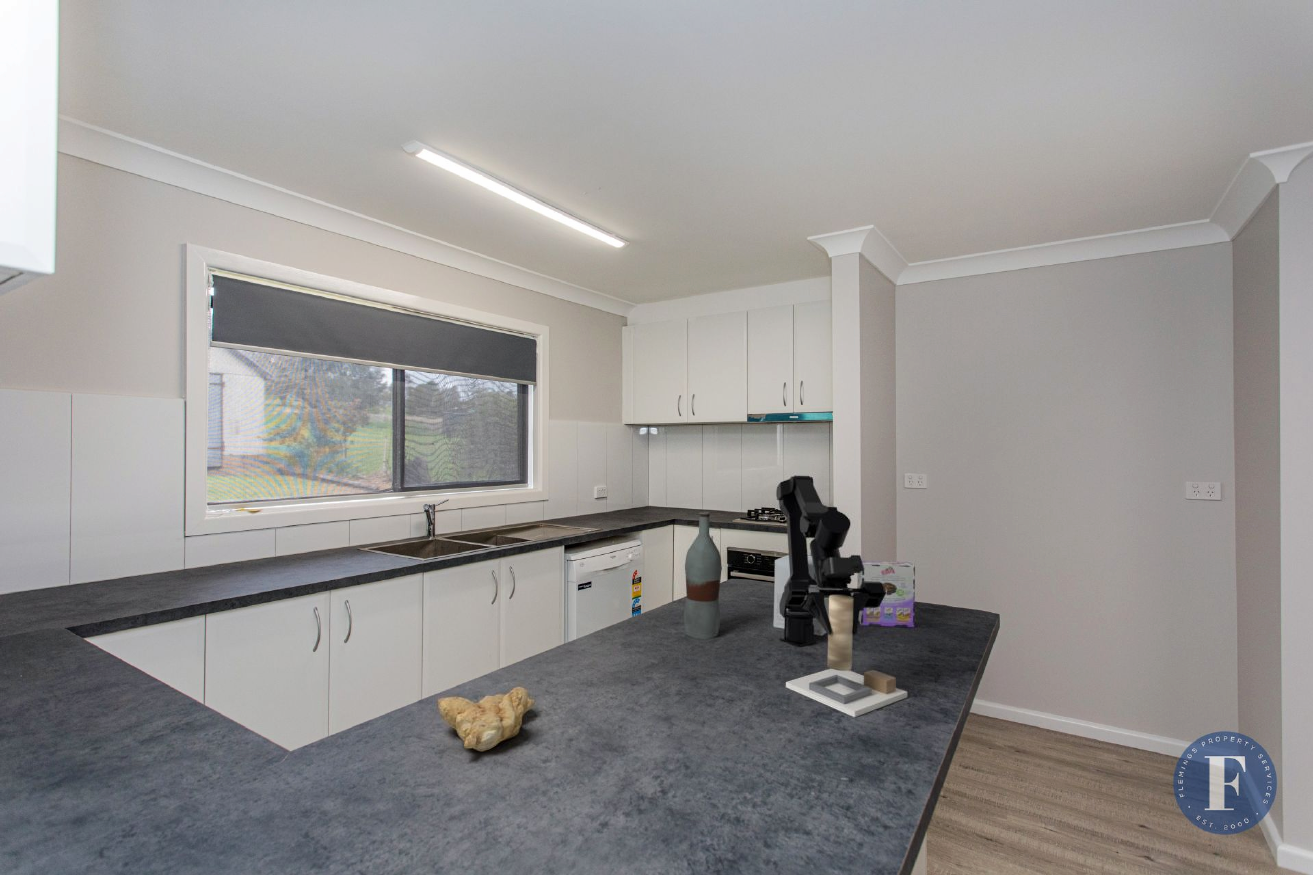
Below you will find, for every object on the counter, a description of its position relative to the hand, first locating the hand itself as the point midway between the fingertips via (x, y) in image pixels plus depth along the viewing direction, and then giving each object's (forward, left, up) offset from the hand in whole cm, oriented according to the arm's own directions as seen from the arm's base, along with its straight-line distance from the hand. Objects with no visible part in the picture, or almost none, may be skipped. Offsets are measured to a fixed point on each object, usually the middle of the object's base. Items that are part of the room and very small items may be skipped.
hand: (842, 633), depth 118 cm
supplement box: (-36, +32, -13) cm, 50 cm away
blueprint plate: (-2, +4, -12) cm, 13 cm away
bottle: (-45, +4, -13) cm, 47 cm away
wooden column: (-1, +1, -7) cm, 7 cm away
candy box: (-26, +52, -13) cm, 60 cm away
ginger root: (-22, -60, -13) cm, 65 cm away
